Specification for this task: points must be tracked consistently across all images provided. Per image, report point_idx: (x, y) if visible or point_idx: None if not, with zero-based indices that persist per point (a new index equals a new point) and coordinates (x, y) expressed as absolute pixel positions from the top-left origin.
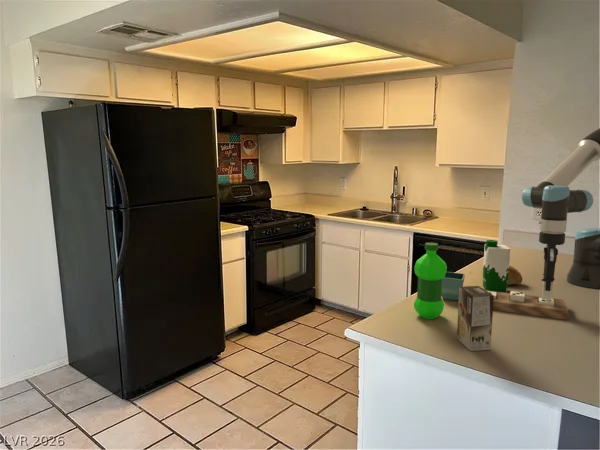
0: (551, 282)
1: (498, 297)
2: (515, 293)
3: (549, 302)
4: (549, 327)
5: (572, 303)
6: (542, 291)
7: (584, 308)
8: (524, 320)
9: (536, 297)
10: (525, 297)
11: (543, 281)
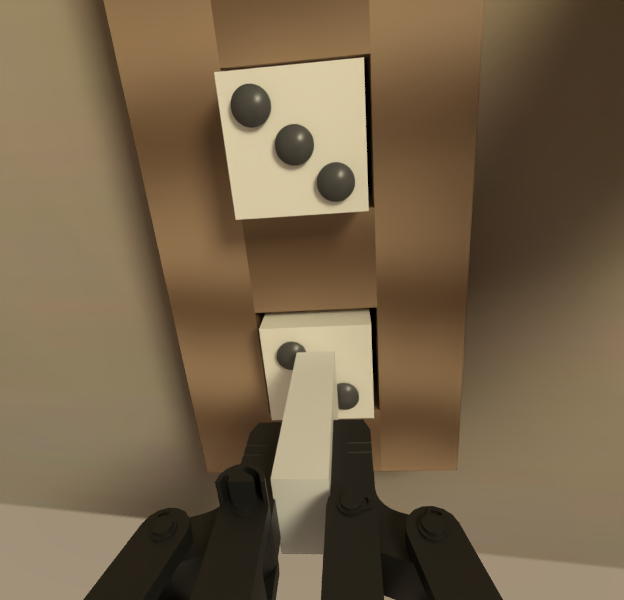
0: (283, 534)
1: None
2: (292, 122)
3: (269, 392)
4: (31, 346)
5: (563, 475)
6: (325, 385)
7: (481, 517)
8: (46, 211)
9: (431, 299)
10: (389, 212)
11: (299, 466)
